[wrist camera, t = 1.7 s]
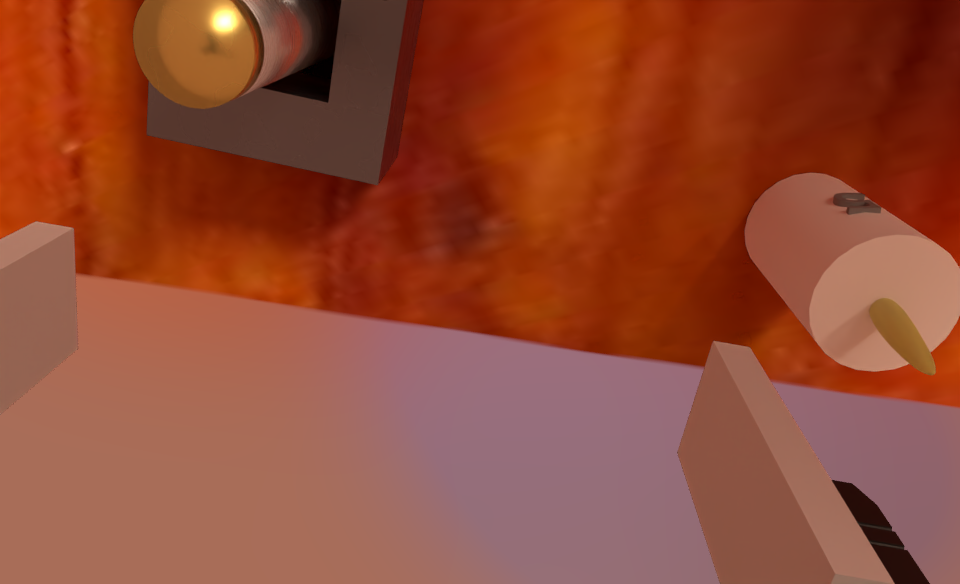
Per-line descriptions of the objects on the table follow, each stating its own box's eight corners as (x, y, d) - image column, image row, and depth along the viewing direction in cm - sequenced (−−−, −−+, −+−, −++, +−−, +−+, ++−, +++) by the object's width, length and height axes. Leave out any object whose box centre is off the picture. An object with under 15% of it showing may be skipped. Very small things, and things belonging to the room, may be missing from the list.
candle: (871, 166, 41) (1048, 265, 27) (854, 280, 43) (1010, 426, 29) (749, 171, 41) (862, 271, 27) (740, 284, 44) (840, 428, 30)
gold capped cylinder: (276, -30, 39) (135, -31, 25) (354, -12, 39) (258, -4, 25) (268, 51, 40) (130, 94, 26) (343, 68, 40) (247, 120, 26)
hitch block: (212, -135, 37) (157, -154, 31) (437, -84, 37) (422, -93, 32) (196, 113, 42) (146, 135, 36) (396, 157, 42) (377, 185, 36)
